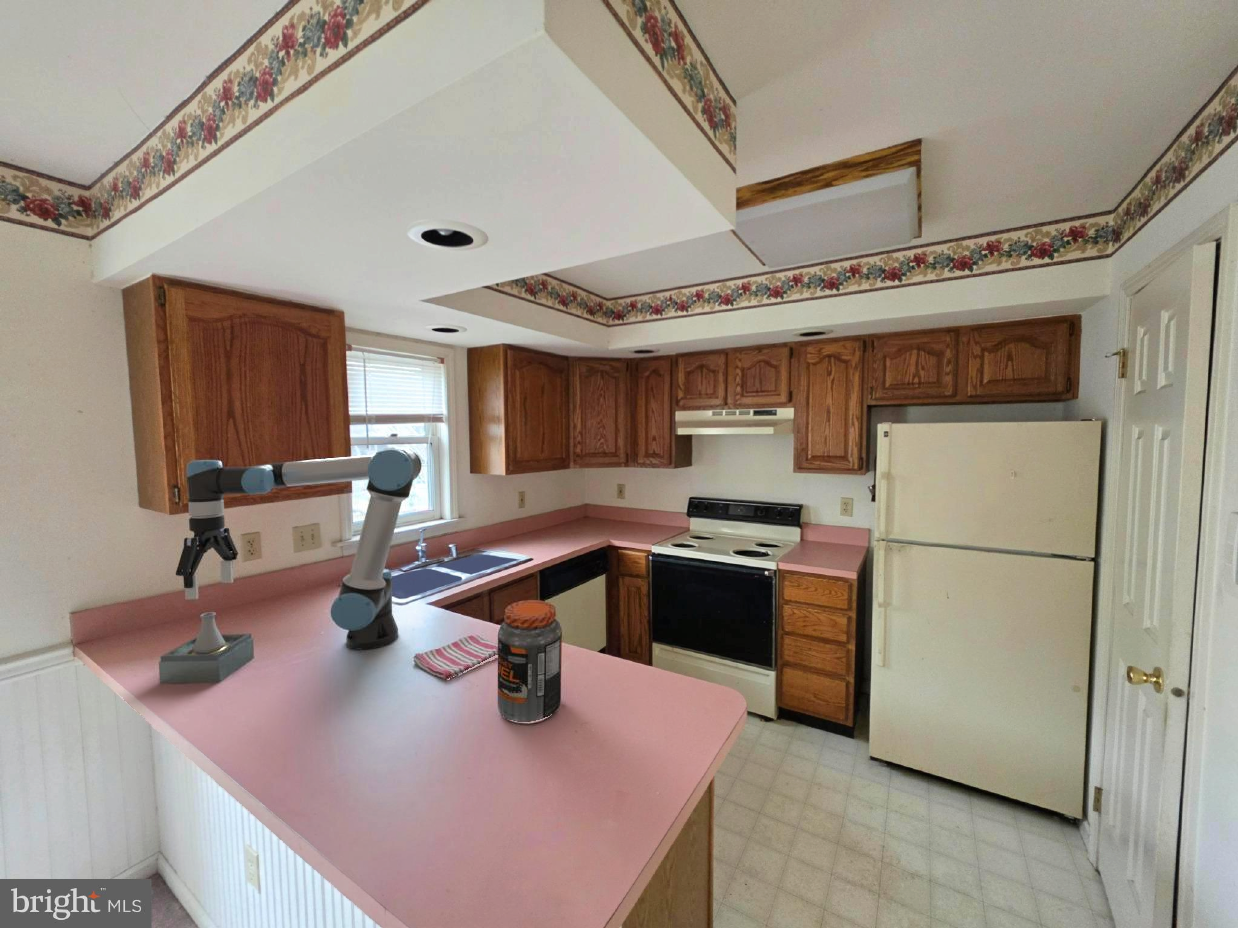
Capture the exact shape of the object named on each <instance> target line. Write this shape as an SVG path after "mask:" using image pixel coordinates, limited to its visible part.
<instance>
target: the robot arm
mask: <svg viewBox="0 0 1238 928" xmlns="http://www.w3.org/2000/svg"><path fill="white" fill-rule="evenodd" d="M421 470H422V459H421V457H420V455H419V454H418V453H417V452H416V451H415V450H413V449H412V448H409V447H406V446H396V447H388V448H383V449H382V450H378V451H375V452H374V453H373V454H371V455H369V454H368V455H356V456H346V457H334V458H325V459H324V458H321V459H309V460H299V461H298V460H297V461H287V462H270V463H269V462H268V463H265V464H258V465H251V466H243V467H241V466H240V467H239V466H238V467H237V466H236V467H225V466H223V462H222V461H221V460H218V459H199V460H197V459H196V460H191V461H189V462H187V464H186V476H185V479H186V485H187V498H188V499H187V502H188V516H190V517H189V519H188V525H189V528H188V529H189V531H190V532H192V533H193V537H184V540H183V548H182V551H181V554H180V558H179V562H178V565H177V567H176V571H175V576H178V577H182V579H183V587H184V596H185V597H184V599H185V600H198V599H199V584H198V583H199V582H198V581H199V580H198V574H196V571H197V569H198V567H199V565H200V564H201V561H202V559H203V556H204V555H205V554H206V553H207V552H208V551H209V550H211V549H213V550H214V551H215V552H216V554H218V555H219V557H220V558H221V559H222V560H220V576H221V577H220V578H221V584H233V583H234V575H233V574H234V573H233V572H234V571H233V569H234V565H233V564H234V561H235V560H237V559H238V556H239V552H238V550H237V548H236V545H235V543H234V541H233V538H232V537H231V533H230V528H229V527H226V526H225V516H224V515H223V514H224V513H225V503H224V502H225V501H224V495H254V496H255V495H261V494H263V495H265V494H268V493H270V492H271V490H272V489H277V488H287V487H298V486H308V485H319V484H330V483H342V482H343V483H344V482H354V481H364V480H366V481H367V480H368V481H367V485H366V491H367V492H368V494H369V495H370V498H369V501H368V504H367V509H366V512H365V516H364V519H363V524H362V528H361V532H360V535H359V538H358V539H359V540H358V543H357V547H356V551H355V553H354V558H353V562H352V566H351V569H350V573H349V574H346V575H345V576H344V577H343V578H342V582H341V586H340V588H339V593H338V596H337V597H336V598H335V599H334V600H333V602H332V604H331V607H330V618H331V619H332V621H333V622H334V623H335V625H336V626H338V628H341V629H343V630H346V631H347V633H346V639H345V640H346V646H347V647H348V648H350V649H353V650H369V649H370V650H371V649H377V648H381V647H384V646H388V645H389V644H392V643H393V642H395V641H396V640H397V639H398V638H399V628H398V625H397V623H396V622H397V621H396V620H395V618H394V614H393V582H392V581H393V578H392V576H393V575H392V571H391V570H389V569H388V568H385V567H386V563H387V560H388V555H389V553H390V548H391V544H392V539H393V538H394V537H393V536H394V533H395V529H396V525H397V522H398V517H399V515H400V510H401V507H402V503H403V502H404V501H405V500H407V499H408V498H409V497H410V494H411V490H412V486H413V482H414V480H415V479H417V478H418V476H419V475H420V474H421Z"/></svg>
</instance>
